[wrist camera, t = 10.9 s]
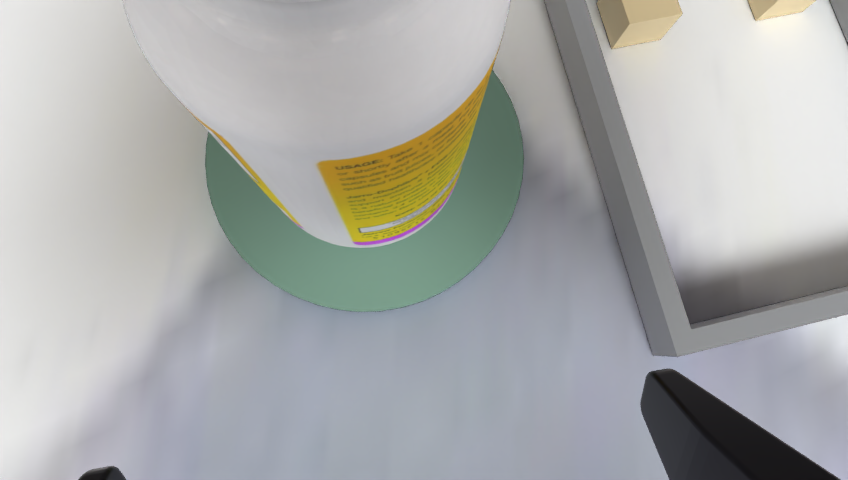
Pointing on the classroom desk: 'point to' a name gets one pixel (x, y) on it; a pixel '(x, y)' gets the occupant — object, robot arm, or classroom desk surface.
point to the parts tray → (624, 187)
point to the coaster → (389, 264)
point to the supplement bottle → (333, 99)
